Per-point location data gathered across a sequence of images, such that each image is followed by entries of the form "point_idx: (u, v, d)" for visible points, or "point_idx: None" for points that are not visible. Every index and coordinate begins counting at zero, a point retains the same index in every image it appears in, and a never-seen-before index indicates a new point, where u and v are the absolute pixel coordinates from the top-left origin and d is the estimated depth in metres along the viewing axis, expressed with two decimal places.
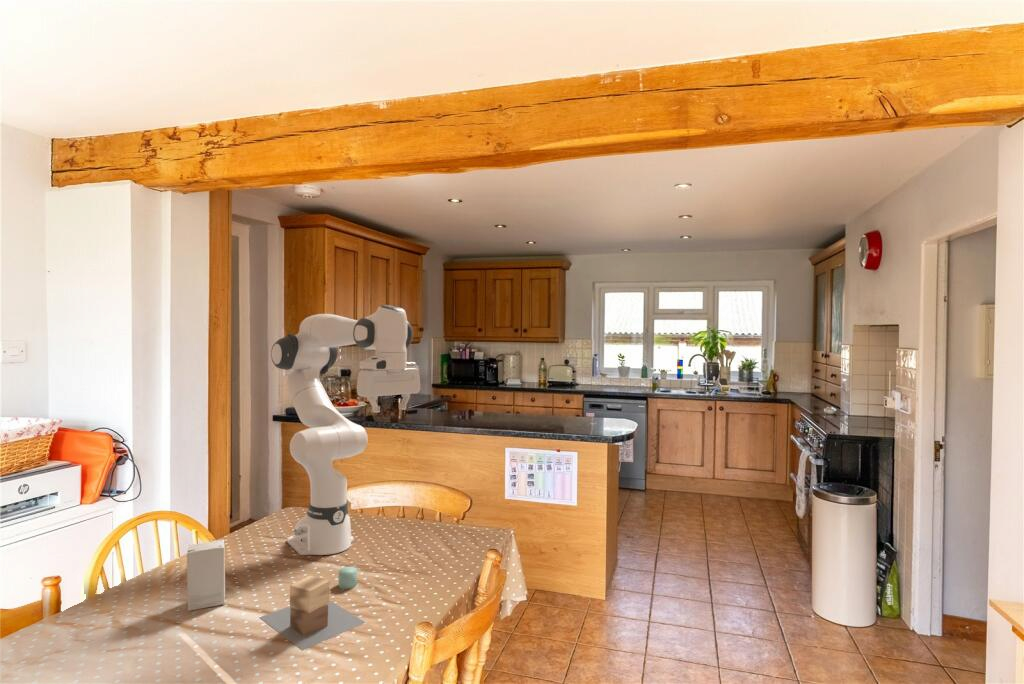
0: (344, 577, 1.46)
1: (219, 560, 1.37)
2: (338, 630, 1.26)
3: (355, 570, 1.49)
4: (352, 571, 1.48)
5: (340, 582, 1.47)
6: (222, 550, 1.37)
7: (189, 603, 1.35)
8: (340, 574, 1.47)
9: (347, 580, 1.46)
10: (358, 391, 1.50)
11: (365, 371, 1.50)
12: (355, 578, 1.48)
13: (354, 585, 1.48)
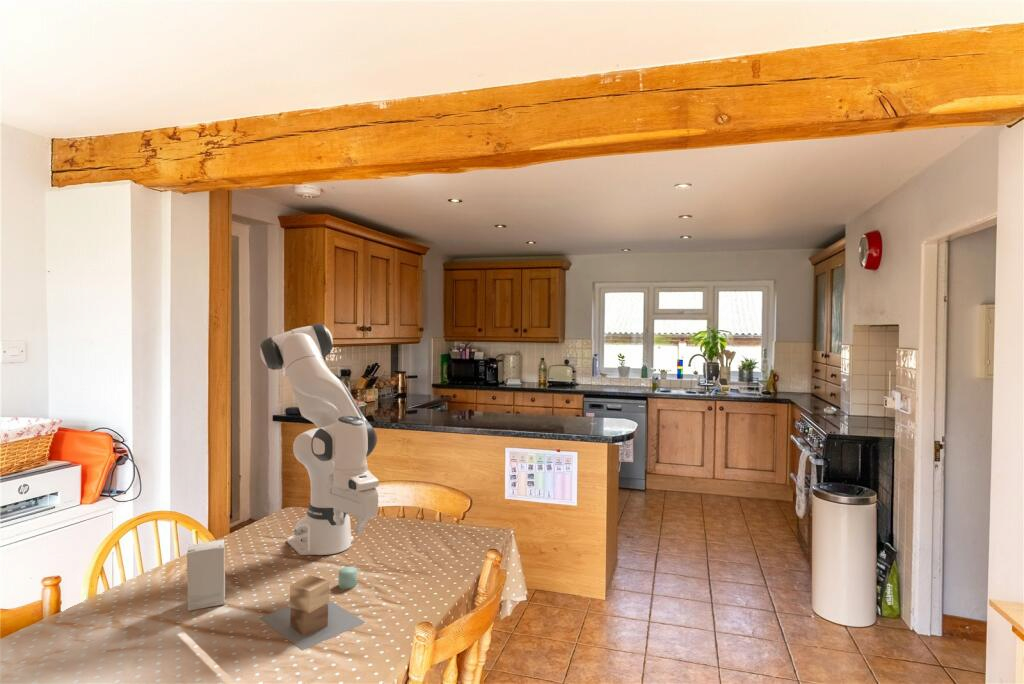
0: (344, 577, 1.46)
1: (219, 560, 1.37)
2: (338, 630, 1.26)
3: (355, 570, 1.49)
4: (352, 571, 1.48)
5: (340, 582, 1.47)
6: (222, 550, 1.37)
7: (189, 603, 1.35)
8: (340, 574, 1.47)
9: (347, 580, 1.46)
10: (369, 514, 1.41)
11: (370, 491, 1.43)
12: (355, 578, 1.48)
13: (354, 585, 1.48)
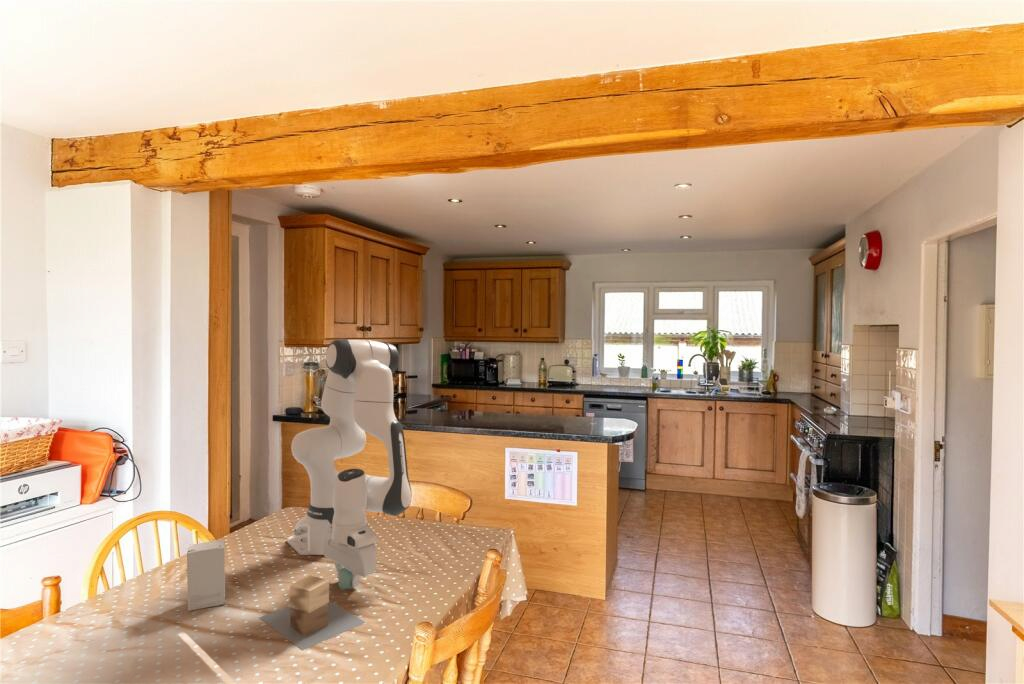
0: (344, 577, 1.46)
1: (219, 560, 1.37)
2: (338, 630, 1.26)
3: None
4: None
5: (340, 582, 1.47)
6: (222, 550, 1.37)
7: (189, 603, 1.35)
8: (340, 574, 1.47)
9: (347, 580, 1.46)
10: (367, 572, 1.42)
11: (368, 548, 1.43)
12: None
13: None
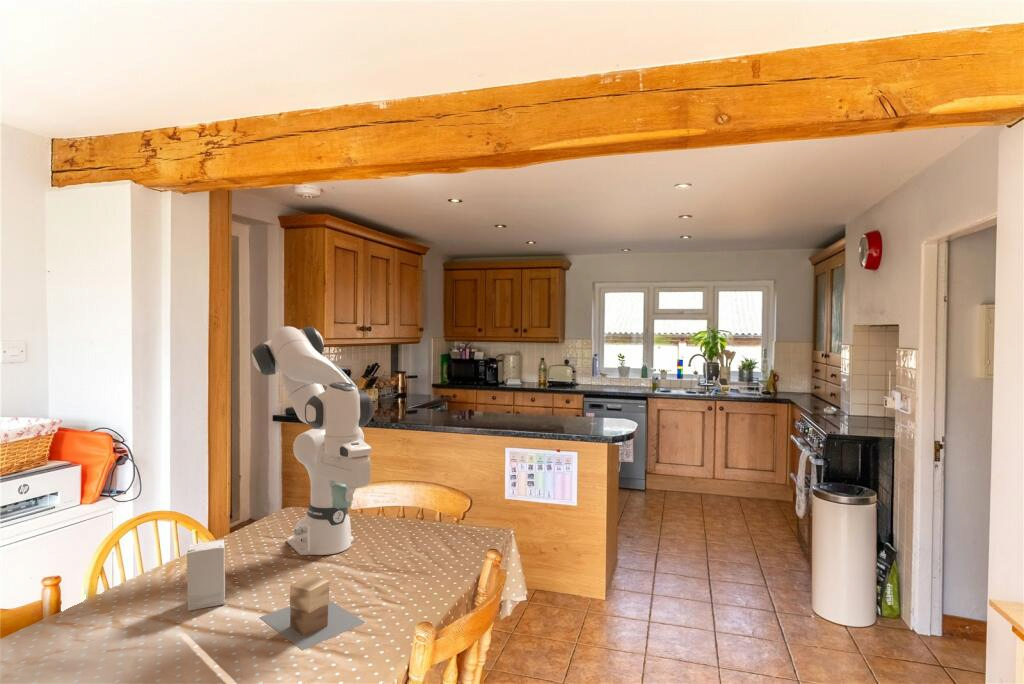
0: (338, 492, 1.41)
1: (219, 560, 1.37)
2: (338, 630, 1.26)
3: None
4: None
5: (334, 497, 1.41)
6: (222, 550, 1.37)
7: (189, 603, 1.35)
8: (334, 489, 1.41)
9: (341, 495, 1.41)
10: (361, 482, 1.36)
11: (362, 459, 1.38)
12: None
13: None
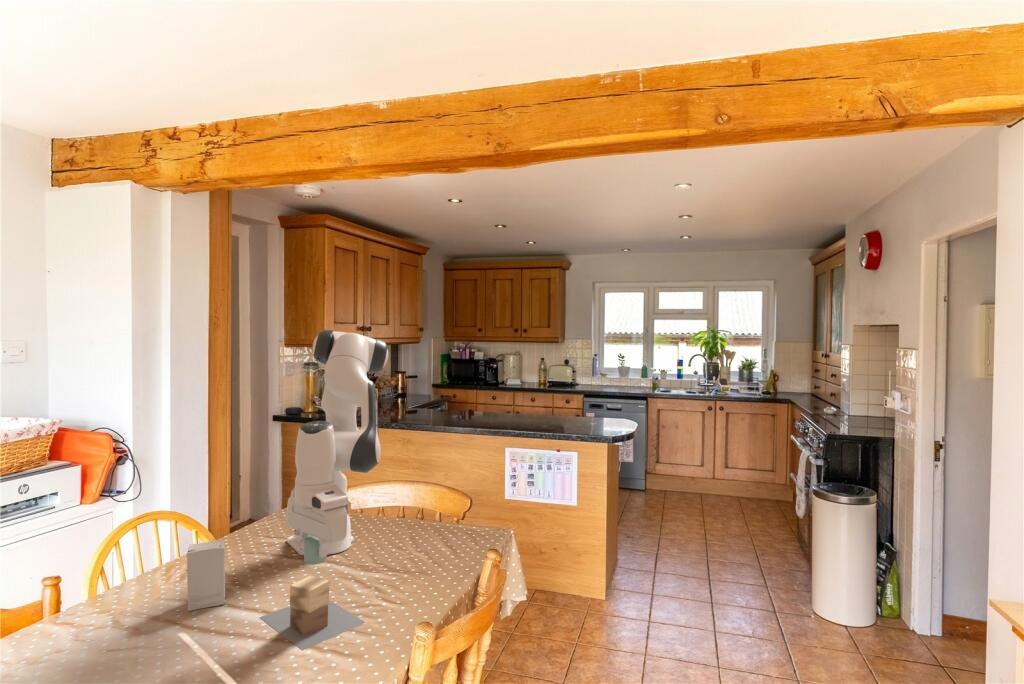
0: (310, 546, 1.25)
1: (219, 560, 1.37)
2: (338, 630, 1.26)
3: None
4: None
5: (306, 552, 1.25)
6: (222, 550, 1.37)
7: (189, 603, 1.35)
8: (305, 543, 1.26)
9: (314, 550, 1.25)
10: (336, 538, 1.20)
11: (337, 510, 1.22)
12: None
13: None
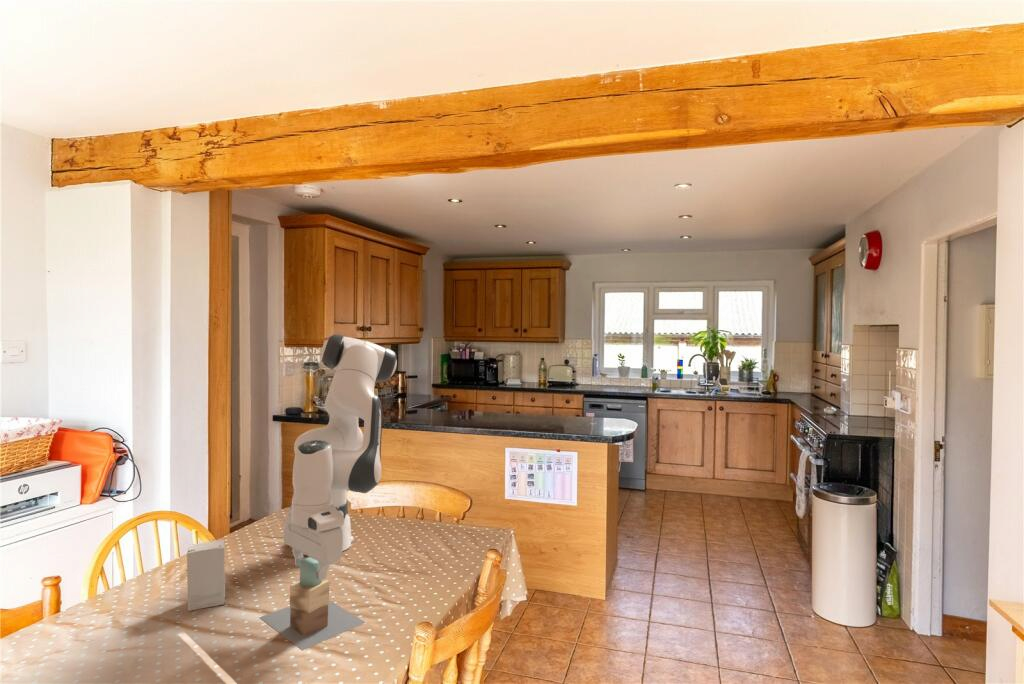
0: (306, 569, 1.25)
1: (219, 560, 1.37)
2: (338, 630, 1.26)
3: None
4: (316, 562, 1.27)
5: (301, 575, 1.25)
6: (222, 550, 1.37)
7: (189, 603, 1.35)
8: (301, 565, 1.26)
9: (310, 573, 1.25)
10: (331, 559, 1.20)
11: (333, 532, 1.22)
12: None
13: None
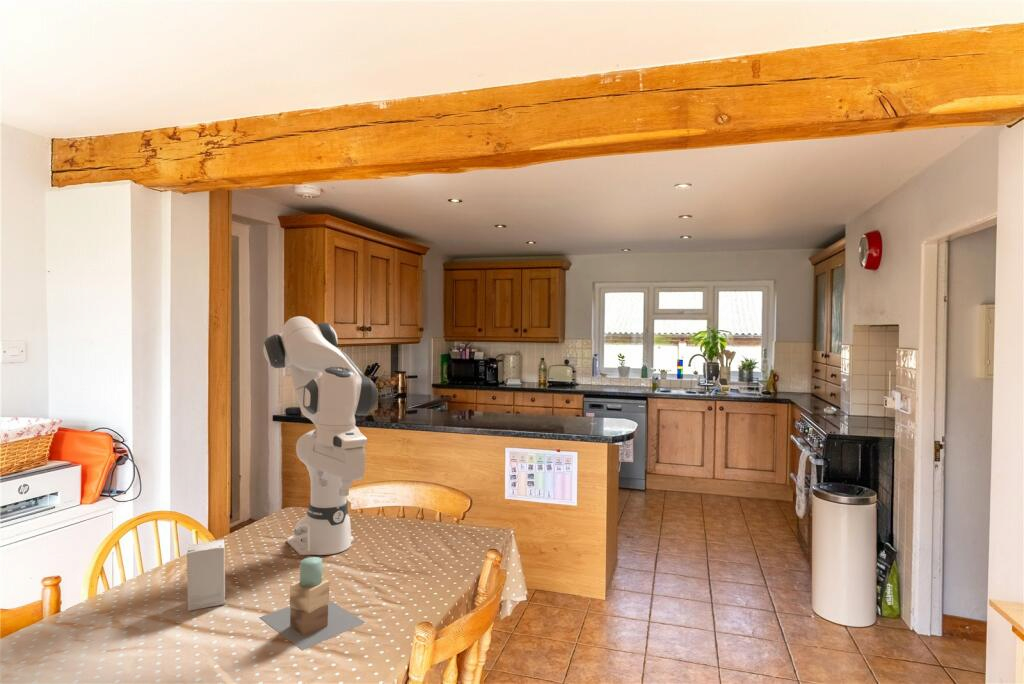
0: (306, 569, 1.25)
1: (219, 560, 1.37)
2: (338, 630, 1.26)
3: (319, 561, 1.28)
4: (316, 562, 1.27)
5: (301, 575, 1.25)
6: (222, 550, 1.37)
7: (189, 603, 1.35)
8: (301, 565, 1.26)
9: (310, 573, 1.25)
10: (354, 475, 1.27)
11: (357, 450, 1.29)
12: (319, 570, 1.27)
13: (318, 578, 1.26)
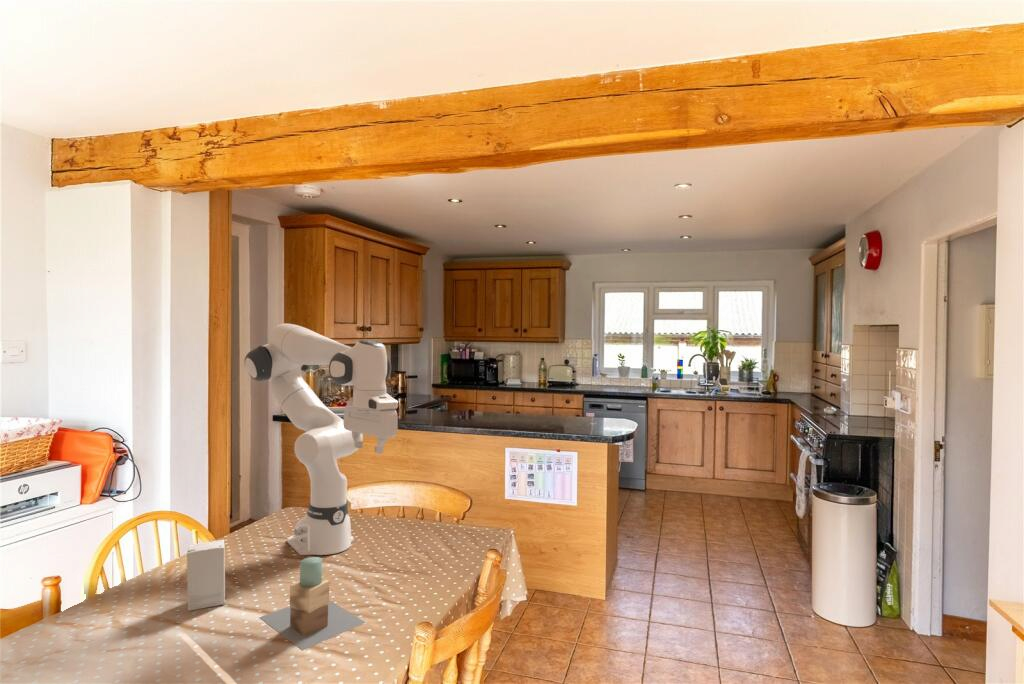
0: (306, 569, 1.25)
1: (219, 560, 1.37)
2: (338, 630, 1.26)
3: (319, 561, 1.28)
4: (316, 562, 1.27)
5: (301, 575, 1.25)
6: (222, 550, 1.37)
7: (189, 603, 1.35)
8: (301, 565, 1.26)
9: (310, 573, 1.25)
10: (388, 433, 1.43)
11: (390, 411, 1.45)
12: (319, 570, 1.27)
13: (318, 578, 1.26)
